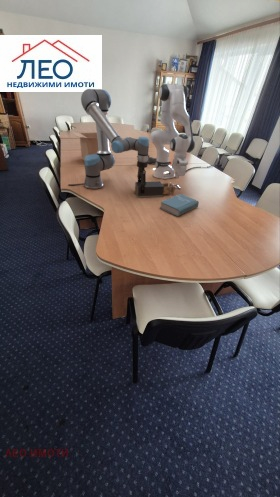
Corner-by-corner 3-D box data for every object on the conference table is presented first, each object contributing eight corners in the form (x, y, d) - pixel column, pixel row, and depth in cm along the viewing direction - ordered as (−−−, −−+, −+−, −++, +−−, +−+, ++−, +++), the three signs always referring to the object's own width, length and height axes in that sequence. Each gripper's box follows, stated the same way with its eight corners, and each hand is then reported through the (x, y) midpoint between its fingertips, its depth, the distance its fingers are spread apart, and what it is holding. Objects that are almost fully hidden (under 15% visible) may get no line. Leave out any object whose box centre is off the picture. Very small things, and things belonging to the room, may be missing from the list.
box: (116, 165, 229) (116, 136, 213) (83, 168, 214) (80, 137, 198) (102, 154, 259) (101, 128, 243) (71, 156, 244) (68, 129, 228)
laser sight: (157, 165, 238) (158, 155, 232) (137, 163, 241) (138, 153, 235) (159, 163, 245) (160, 153, 239) (139, 160, 248) (139, 151, 242)
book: (179, 200, 168) (180, 193, 165) (197, 207, 159) (199, 201, 156) (160, 208, 154) (160, 201, 152) (178, 217, 146) (179, 210, 143)
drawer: (176, 189, 182) (177, 182, 179) (180, 194, 175) (181, 186, 171) (147, 190, 178) (148, 183, 174) (150, 195, 170) (151, 187, 166)
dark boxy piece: (159, 190, 181) (160, 181, 176) (162, 196, 172) (164, 186, 167) (134, 191, 177) (135, 181, 172) (137, 197, 168) (138, 187, 163)
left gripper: (134, 156, 166) (133, 184, 179) (140, 165, 148) (139, 196, 161) (143, 156, 168) (142, 184, 181) (151, 165, 150) (149, 196, 163)
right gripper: (171, 155, 170) (168, 173, 179) (180, 163, 154) (177, 182, 163) (178, 155, 172) (176, 173, 180) (188, 163, 156) (185, 182, 164)
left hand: (140, 190), depth 171 cm, fingers closed on dark boxy piece, 11 cm apart
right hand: (176, 177), depth 171 cm, fingers closed
